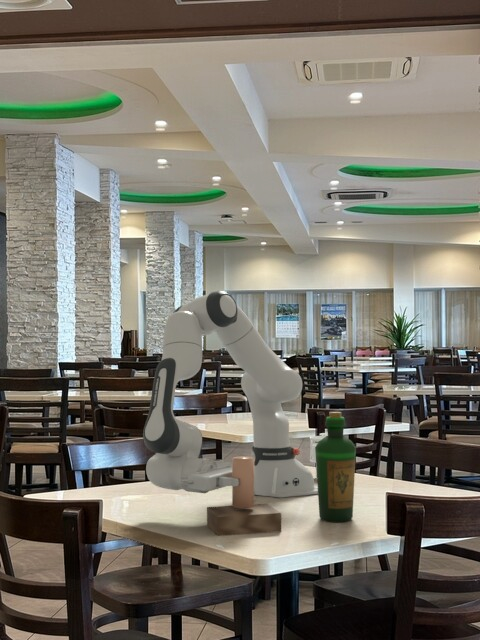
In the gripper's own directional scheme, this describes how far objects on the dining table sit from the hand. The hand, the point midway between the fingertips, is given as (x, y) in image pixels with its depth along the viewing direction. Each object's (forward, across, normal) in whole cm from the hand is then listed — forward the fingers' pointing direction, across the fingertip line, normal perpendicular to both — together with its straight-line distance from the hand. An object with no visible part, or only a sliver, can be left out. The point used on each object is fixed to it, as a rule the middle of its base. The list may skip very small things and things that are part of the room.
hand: (246, 480), depth 203 cm
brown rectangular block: (-1, 0, +12) cm, 12 cm away
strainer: (-18, +77, +12) cm, 80 cm away
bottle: (+15, +21, +12) cm, 28 cm away
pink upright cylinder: (-1, 0, +6) cm, 7 cm away
